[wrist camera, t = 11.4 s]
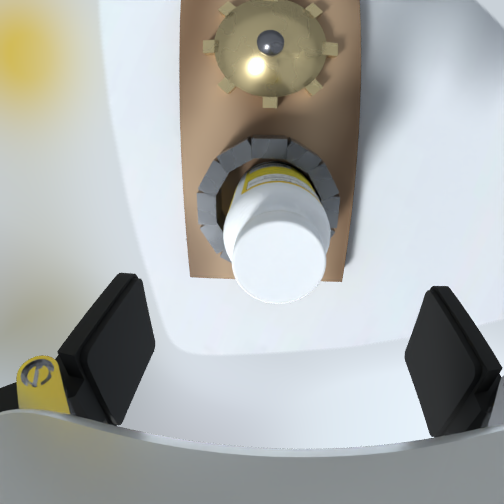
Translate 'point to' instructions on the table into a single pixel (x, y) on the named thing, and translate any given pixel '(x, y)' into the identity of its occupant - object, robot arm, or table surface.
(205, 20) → the gear board
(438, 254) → the table surface
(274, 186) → the supplement bottle
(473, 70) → the table surface
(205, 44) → the brass gear
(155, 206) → the table surface
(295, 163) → the socket ring
